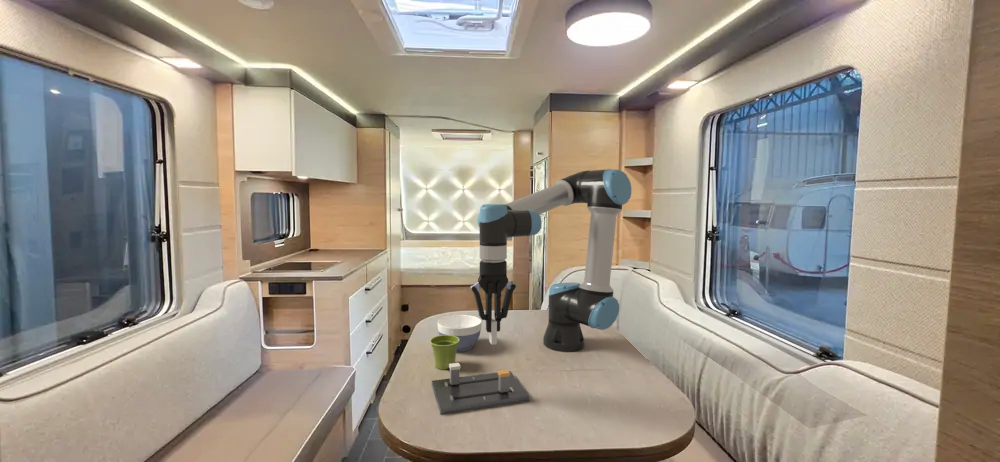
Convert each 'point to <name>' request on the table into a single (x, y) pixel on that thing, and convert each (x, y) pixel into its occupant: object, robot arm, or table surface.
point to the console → (476, 393)
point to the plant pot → (444, 350)
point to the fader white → (454, 373)
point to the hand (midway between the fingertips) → (493, 342)
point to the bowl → (461, 329)
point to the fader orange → (503, 380)
